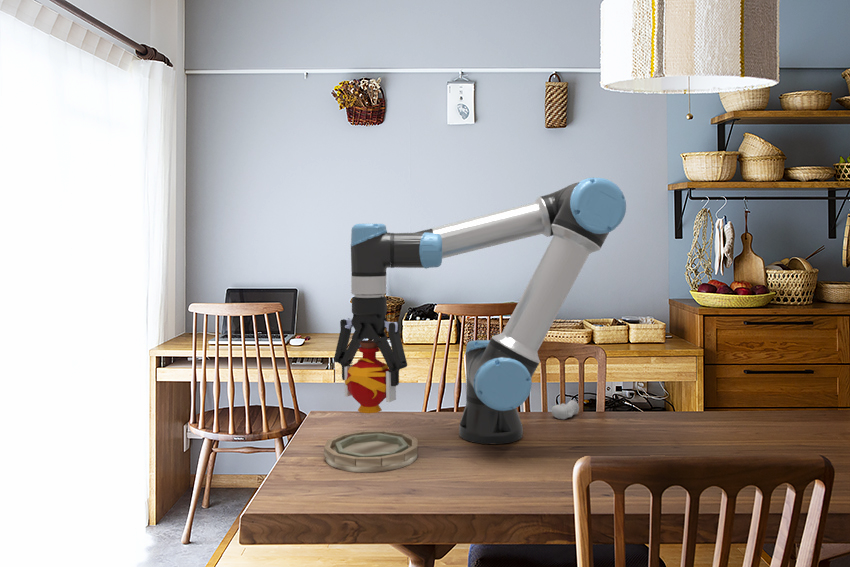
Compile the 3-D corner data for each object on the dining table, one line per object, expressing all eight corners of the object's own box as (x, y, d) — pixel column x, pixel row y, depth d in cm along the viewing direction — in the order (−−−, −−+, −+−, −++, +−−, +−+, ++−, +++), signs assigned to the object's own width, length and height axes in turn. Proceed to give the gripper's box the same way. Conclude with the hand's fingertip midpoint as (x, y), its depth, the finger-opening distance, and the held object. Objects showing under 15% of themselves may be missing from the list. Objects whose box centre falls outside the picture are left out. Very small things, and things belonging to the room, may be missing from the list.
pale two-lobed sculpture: (559, 425, 170) (547, 415, 174) (582, 420, 174) (570, 410, 178) (562, 411, 169) (550, 401, 173) (586, 406, 173) (573, 396, 177)
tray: (433, 449, 148) (433, 437, 148) (386, 478, 130) (385, 464, 130) (359, 437, 157) (359, 426, 157) (306, 462, 140) (305, 449, 140)
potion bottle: (336, 410, 143) (335, 341, 142) (372, 401, 151) (372, 336, 150) (367, 419, 136) (366, 347, 135) (403, 410, 143) (403, 341, 142)
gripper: (423, 296, 139) (424, 400, 141) (336, 292, 150) (338, 388, 152) (405, 299, 133) (406, 408, 134) (316, 295, 144) (317, 395, 145)
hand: (370, 397), depth 143 cm, fingers closed on potion bottle, 10 cm apart
